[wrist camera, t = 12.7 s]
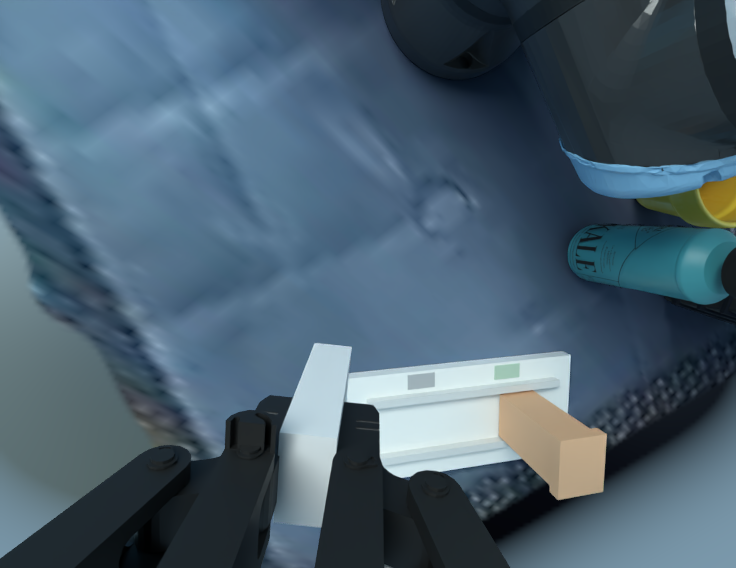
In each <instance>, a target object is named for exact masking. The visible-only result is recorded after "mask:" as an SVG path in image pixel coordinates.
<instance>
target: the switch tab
mask: <svg viewBox="0 0 736 568" xmlns="http://www.w3.org/2000/svg"><path fill="white" fill-rule="evenodd" d="M499 436H500V437H501V438H502V439H503V440H504V441H505V442H506V443H507V444H508V445H509V446H510V447H511V448H512V449H513V450H514V451H515V452H516V453H517V454H518V455H519V456H520V457H521V458H522V459H523V460H524V461H525V462H526V463H527V464H528V465H529V466H530V467H531V468H532V469H533V470H534V471H535V472H537V473H538V474H539V475H540V476H541V477H542V478H543V479H544V480H545V481H546V482H547V483H548V484H549V485H550V493H551V494H552V495H553V496H554V497H556V499H558V500H561V499H566V498H571V497H577V496H583V495H588V494H593V493H599V492H603V484H604V469H605V454H606V439H607V434H606V433H604V432H603V431H601V430H600V429H598V428H593V429H590V428H588V427H587V426H585V425H584V424H582V423H581V422H579V421H578V420H576V419H575V418H573V417H572V416H570V415H569V414H567V413H566V412H564V411H563V410H561V409H560V408H559V407H557V406H556V405H554V404H553V403H551V402H550V401H548V400H547V399H545V398H544V397H542V396H541V395H539V394H538V393H536V392H535V391H533V390H529V391H521V392H513V393H505V394H500V403H499Z"/></svg>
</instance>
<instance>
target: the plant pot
mask: <svg viewBox="0 0 736 568" xmlns="http://www.w3.org/2000/svg"><path fill="white" fill-rule="evenodd" d="M636 199H637V201H638V202H639V203H640V204H641V205H642V206H644V207H645V208H648V209H651V210H654V211H659V212H663V213H667V214H670V215H674V216H678V217H681V218H682V219H683V220H684V221H686V222H687V223H689V224H692V225H695V226H700V227H710V228H736V176H734V177H732V178H729V179H726V180H724V181H712V182H706V183H704V184H703V185H702V187H701V188H698V189H695V190H691V191H687V192H683V193H678V194H673V195H667V196H660V197H652V198H636Z"/></svg>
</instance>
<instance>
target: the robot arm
mask: <svg viewBox="0 0 736 568" xmlns="http://www.w3.org/2000/svg"><path fill="white" fill-rule="evenodd" d="M381 5H382V10H383V14H384V18H385V21H386V24H387V27H388V29H389V31H390V33H391V35H392V37H393V39H394V41H395V42H396V44H397V45H398V47H399V48H400V49H401V51H402V52H403V53H404V54H405V55H406V56H407V57H408V58H409V59H410V60H411V61H412V62H413V63H414V64H416V65H417V66H418V67H420V68H421V69H423V70H425V71H426V72H428V73H430V74H433V75H435V76H438V77H441V78H446V79H454V80H461V79H469V78H474V77H477V76H480V75H482V74H484V73H486V72H488V71H490V70H491V69H493V68H495V67H496V66H498V65H499V64H501V63H502V62H503V61H505V60H506V59H507V58H508V57H509V56H511V55H512V54H513V53H514V51H515V50H516V49H517V48H518V47H519V46H520V44H521V46H522V49H523V51H524V53H525V56H526V58H527V60H528V63H529V65H530V67H531V70H532V72H533V74H534V77H535V79H536V81H537V84H538V86H539V88H540V91H541V93H542V95H543V98H544V100H545V102H546V105H547V107H548V109H549V112H550V114H551V116H552V119H553V121H554V123H555V126H556V128H557V130H558V133H559V135H560V138H559V142H560V146H561V148H562V150H563V151H564V152H565V154H566V155H567V156H568V157H569V158H570V160H571V162H572V164H573V166H574V168H575V170H576V172H577V174H578V176H579V178H580V180H581V181H582V183H584V184H585V185H586V186H587V187H588V188H589V189H591V190H592V191H594V192H596V193H598V194H601V195H604V196H608V197H613V198H624V199H636V198H652V197H660V196H667V195H673V194H678V193H683V192H687V191H691V190H695V189H698V188H701V187H702V185H703V184H704V183H706V182H712V181H724V180H726V179H729V178H732V177H734V176H736V0H381ZM351 349H352V347H348V346H339V345H329V344H319V343H315V344H314V346H313V349H312V351H311V354H310V356H309V359H308V361H307V364H306V366H305V369H304V372H303V374H302V377H301V379H300V382H299V384H298V387H297V389H296V392H295V394H294V397H293V398H292V397H282V396H272V395H270V396H268V397H267V398H265V399H264V400H262V401H261V402H260V403H259V404H258V406H257V408H256V410H247V411H242V412H238V413H236V414H234V415H231V416H230V417H229V418H228V419H227V420H226V433H225V449H224V451H223V453H222V455H221V456H219V457H216V458H212V459H206V460H197V461H191V454H190V453H189V451H188V450H187V449H185V448H183V447H180V446H173V445H166V446H165V445H164V446H159V447H155V448H152V449H149V450H147V451H145V452H143V453H142V454H140V455H139V456H137V457H136V458H135V459H133V460H132V461H131V462H129V463H128V464H127V465H125V466H124V467H123V468H121V469H120V470H119V471H117V472H116V473H114V474H113V475H112V476H111V477H110V478H108V479H106V480H105V481H104V482H102V483H101V484H100V485H98V486H97V487H96V488H94V489H93V490H92V491H90V492H89V493H88V494H86V495H85V496H84V497H82V498H81V499H80V500H78V501H77V502H76V503H74V504H73V505H72V506H70V507H69V508H68V509H66V510H65V511H64V512H63V513H61V514H60V515H58V516H57V517H56V518H54V519H53V520H51V521H50V522H49V523H47V524H46V525H45V526H43V527H42V528H41V529H40V530H38V531H37V532H35V533H34V534H33V535H31V536H30V537H29V538H27V539H26V540H25V541H24V542H22V543H21V544H19V545H18V546H17V547H15V548H14V549H13V550H12V551H10V552H9V553H7V554H6V555H5V556H3V557H2V558H1V559H0V568H261V565H262V561H263V558H264V555H265V551H266V548H267V545H268V541H269V538H270V522H271V519H272V515H273V512H274V523H282V524H291V525H301V526H311V527H321V533H320V539H319V545H318V551H317V557H316V563H315V568H384V564H386V565H389V566H391V567H394V568H510V567H509V565H508V564H507V562H506V560H505V559H504V557H503V555H502V553H501V552H500V550H499V549H498V547H497V545H496V544H495V542H494V541H493V539H492V537H491V536H490V534H489V532H488V531H487V529H486V528H485V526H484V524H483V523H482V521H481V519H480V518H479V516H478V514H477V513H476V511H475V510H474V508H473V506H472V505H471V503H470V501H469V500H468V498H467V497H466V495H465V493H464V492H463V490H462V488H461V487H460V485H459V484H458V483H457V482H456V481H455V480H454V479H453V478H451V477H450V476H448V475H446V474H444V473H441V472H438V471H431V470H424V471H419V472H417V473H415V474H414V475H412V476H411V478H410V480H409V481H408V480H405V479H402V478H400V477H397V476H395V475H393V474H392V473H390V472H389V471H387V470H386V469H385V468H384V467H383V465H382V462H381V459H380V431H379V430H380V424H379V412H378V411H377V409H376V408H375V407H374V405H370V404H361V403H351V402H346V399H347V389H348V379H349V369H350V359H351Z"/></svg>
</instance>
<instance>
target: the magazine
mask: <svg viewBox="0 0 736 568" xmlns="http://www.w3.org/2000/svg"><path fill="white" fill-rule="evenodd" d="M665 299H666V300H668V301H670V302H671V304H674V305H677V306H680V307H683V308H686V309H689V310H692V311H695V312H698V313H701V314H704V315H707V316H710V317H713V318H716V319H719V320H722V321H725V322H728V323H731V324H734V325H736V298H735V297H732V296H730V295H729V296H727V297H726V298H724V299H723V300H721V301H719V302H717V303H713V304H707V305H703V304H697V303H694V302H691V301H687V300H682V299H678V298H673V297H668V296H665Z"/></svg>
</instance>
